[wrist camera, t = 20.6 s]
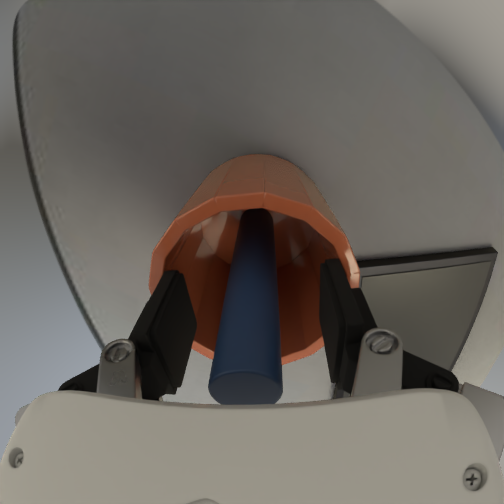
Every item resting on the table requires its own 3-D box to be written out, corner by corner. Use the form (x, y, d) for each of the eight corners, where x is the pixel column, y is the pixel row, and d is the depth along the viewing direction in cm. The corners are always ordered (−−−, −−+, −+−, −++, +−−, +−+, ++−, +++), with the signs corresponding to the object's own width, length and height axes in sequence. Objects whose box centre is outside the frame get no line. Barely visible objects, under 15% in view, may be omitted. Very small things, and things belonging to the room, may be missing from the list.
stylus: (237, 208, 19) (200, 371, 7) (271, 205, 19) (281, 369, 7) (242, 238, 20) (216, 411, 8) (274, 236, 20) (283, 410, 8)
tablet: (349, 261, 21) (353, 269, 20) (492, 246, 20) (498, 252, 19) (331, 405, 30) (332, 413, 29) (439, 383, 29) (441, 389, 28)
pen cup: (183, 162, 18) (124, 209, 10) (319, 149, 17) (365, 185, 9) (206, 277, 22) (179, 367, 14) (322, 268, 21) (349, 359, 14)
